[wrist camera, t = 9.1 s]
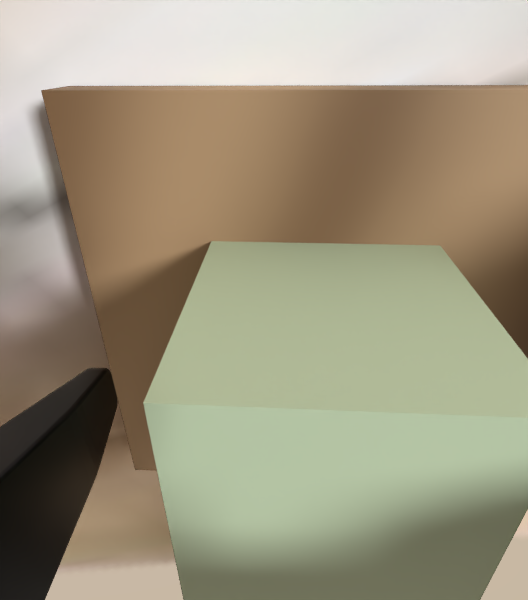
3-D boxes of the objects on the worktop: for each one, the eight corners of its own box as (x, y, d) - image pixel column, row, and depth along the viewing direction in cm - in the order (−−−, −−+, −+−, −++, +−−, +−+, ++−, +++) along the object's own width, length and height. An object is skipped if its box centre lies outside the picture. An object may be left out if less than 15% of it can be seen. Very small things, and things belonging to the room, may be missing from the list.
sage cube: (440, 245, 9) (574, 420, 5) (402, 412, 12) (467, 624, 7) (211, 241, 9) (143, 403, 5) (223, 405, 12) (185, 605, 8)
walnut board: (603, 85, 8) (647, 90, 7) (469, 453, 14) (483, 485, 13) (69, 86, 9) (41, 90, 8) (146, 439, 15) (135, 469, 14)
